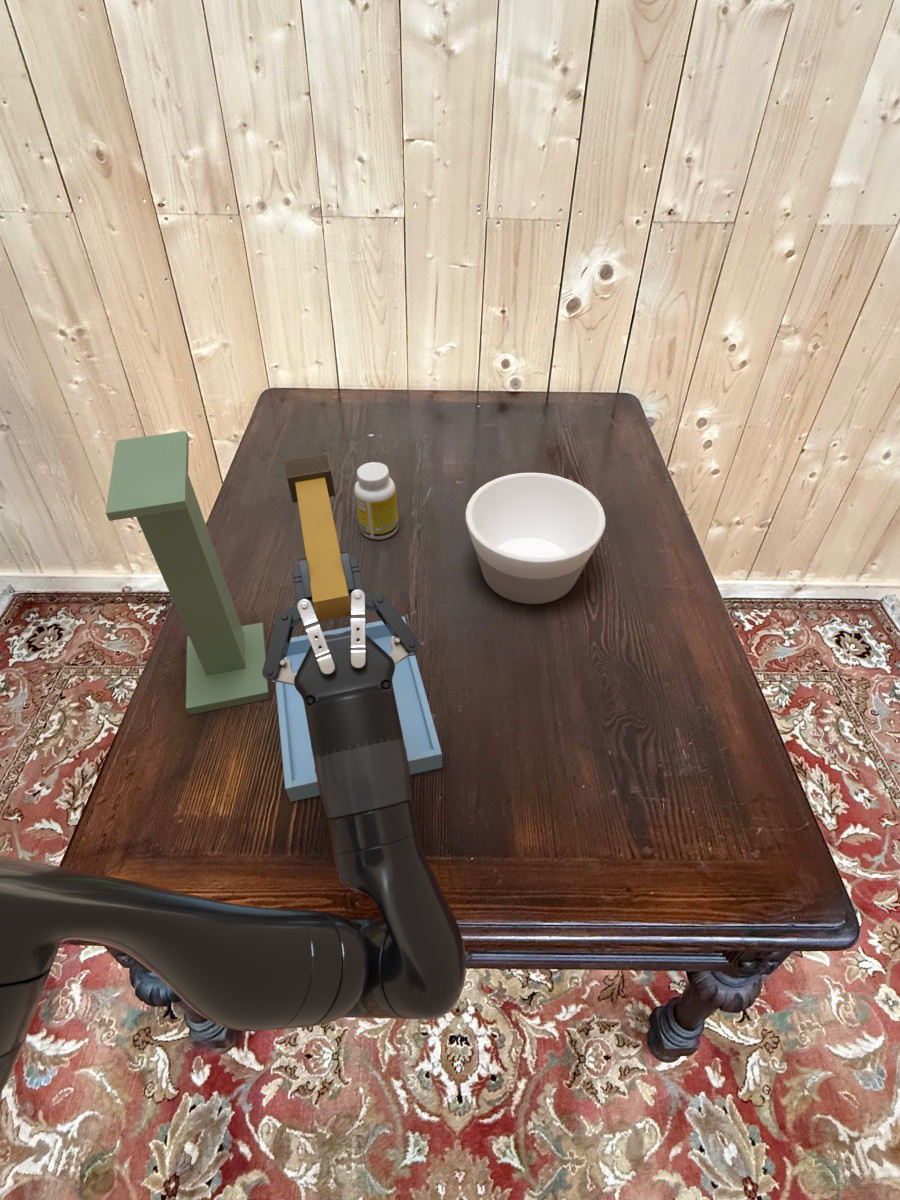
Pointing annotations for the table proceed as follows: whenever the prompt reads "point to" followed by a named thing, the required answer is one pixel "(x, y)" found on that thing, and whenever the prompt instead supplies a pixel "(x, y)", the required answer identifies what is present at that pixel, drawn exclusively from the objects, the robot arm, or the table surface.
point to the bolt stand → (189, 571)
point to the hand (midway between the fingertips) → (323, 557)
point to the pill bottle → (376, 501)
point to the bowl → (533, 534)
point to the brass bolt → (319, 534)
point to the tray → (409, 704)
